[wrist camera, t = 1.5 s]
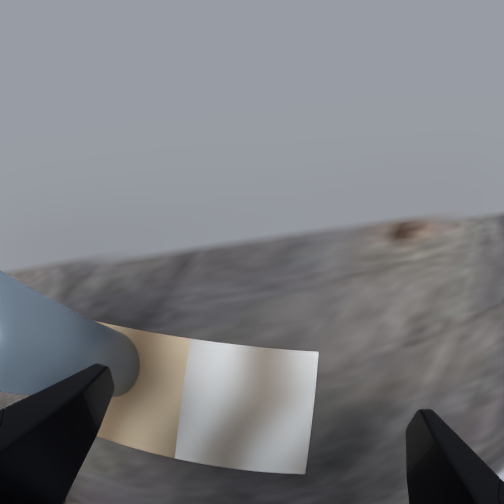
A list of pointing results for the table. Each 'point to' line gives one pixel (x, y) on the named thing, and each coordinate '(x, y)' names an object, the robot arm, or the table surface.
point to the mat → (216, 403)
